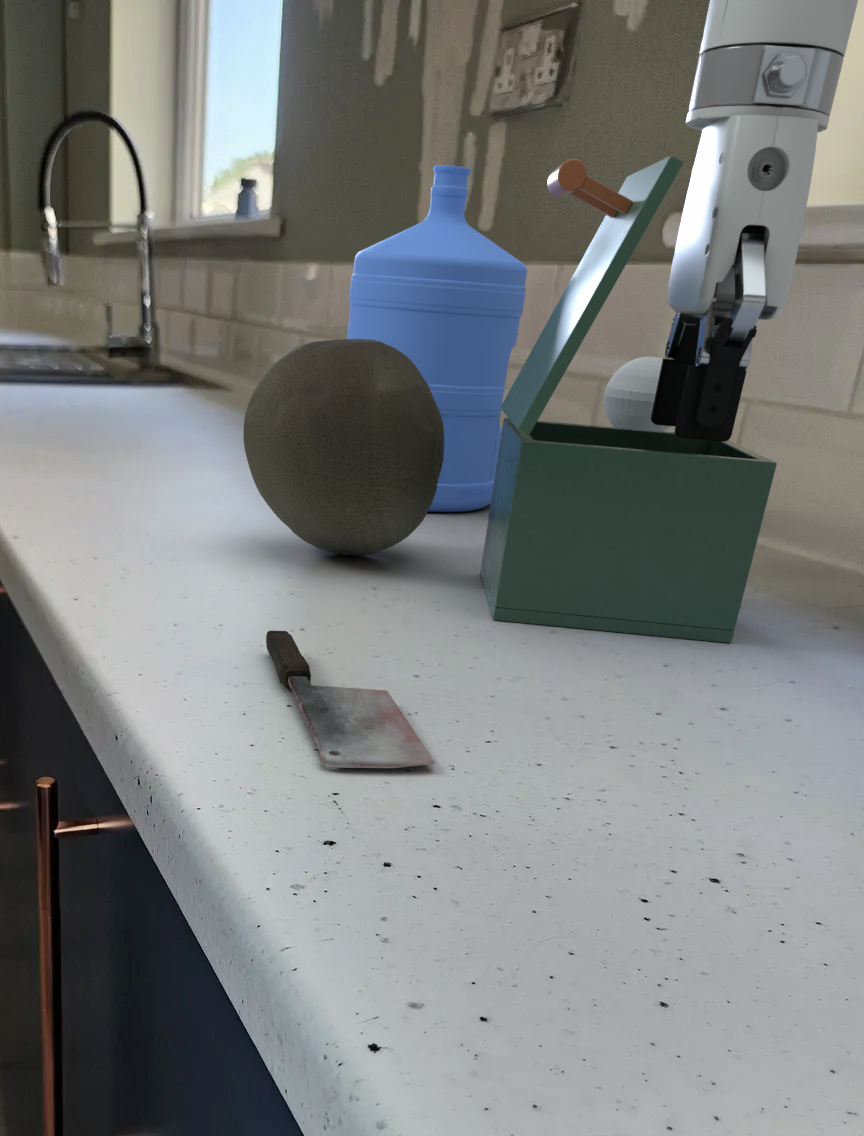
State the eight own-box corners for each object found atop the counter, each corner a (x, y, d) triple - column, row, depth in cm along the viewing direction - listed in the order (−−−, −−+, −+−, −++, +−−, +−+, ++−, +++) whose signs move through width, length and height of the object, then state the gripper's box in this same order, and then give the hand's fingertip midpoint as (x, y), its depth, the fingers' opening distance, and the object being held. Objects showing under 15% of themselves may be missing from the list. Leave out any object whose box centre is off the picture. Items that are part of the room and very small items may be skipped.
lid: (638, 182, 70) (563, 139, 70) (684, 161, 59) (595, 111, 59) (510, 413, 77) (440, 376, 76) (529, 435, 65) (447, 392, 65)
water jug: (421, 520, 99) (468, 155, 87) (297, 488, 109) (324, 157, 97) (525, 506, 109) (580, 177, 97) (403, 479, 119) (439, 177, 107)
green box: (684, 592, 81) (721, 436, 76) (731, 643, 69) (777, 462, 65) (480, 573, 82) (503, 417, 77) (493, 620, 70) (521, 440, 66)
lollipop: (604, 545, 94) (642, 353, 88) (665, 560, 90) (710, 361, 84) (559, 551, 91) (595, 352, 84) (621, 567, 87) (664, 359, 80)
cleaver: (439, 754, 47) (322, 753, 46) (435, 777, 47) (319, 776, 47) (354, 629, 61) (263, 627, 60) (351, 648, 62) (261, 646, 61)
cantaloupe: (345, 528, 93) (365, 333, 86) (469, 568, 83) (501, 350, 76) (203, 541, 85) (213, 326, 79) (320, 586, 75) (342, 344, 69)
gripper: (891, 75, 55) (792, 456, 62) (782, 122, 70) (713, 422, 78) (734, 65, 55) (655, 445, 63) (660, 114, 71) (604, 413, 78)
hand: (688, 429), depth 70 cm, fingers open, 6 cm apart
